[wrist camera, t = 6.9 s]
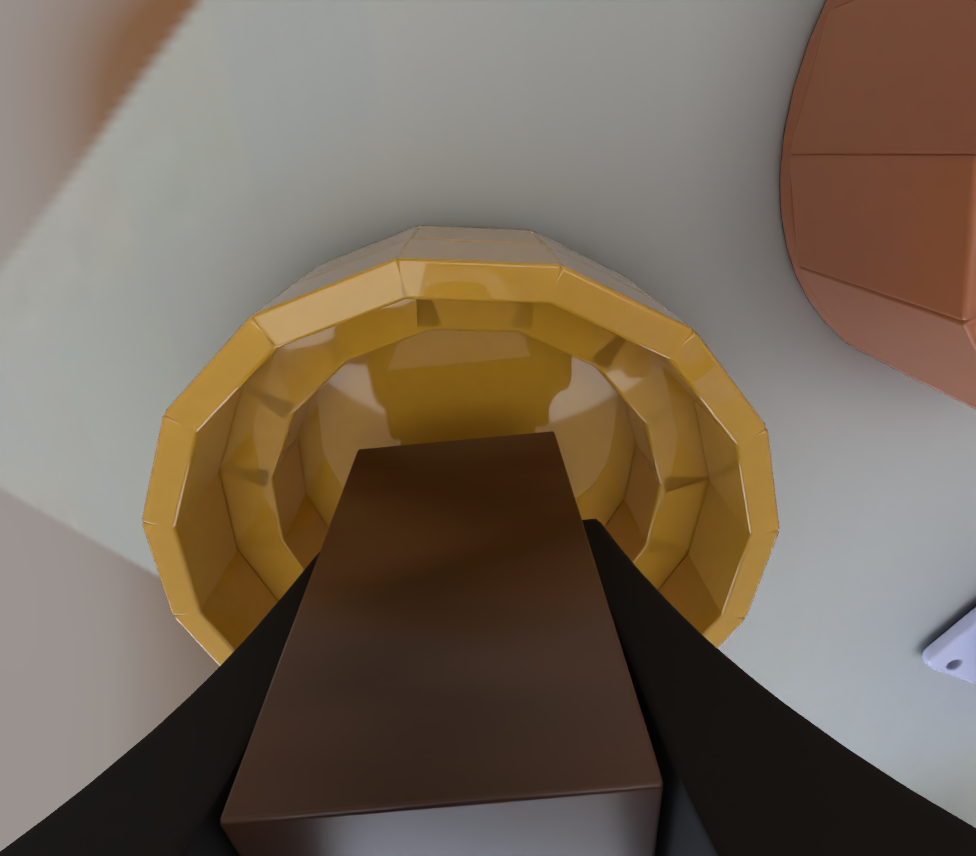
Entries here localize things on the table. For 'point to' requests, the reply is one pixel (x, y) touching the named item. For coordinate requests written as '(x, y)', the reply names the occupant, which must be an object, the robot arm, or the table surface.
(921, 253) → the pot
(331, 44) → the table surface
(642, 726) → the walnut block
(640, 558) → the bowl
